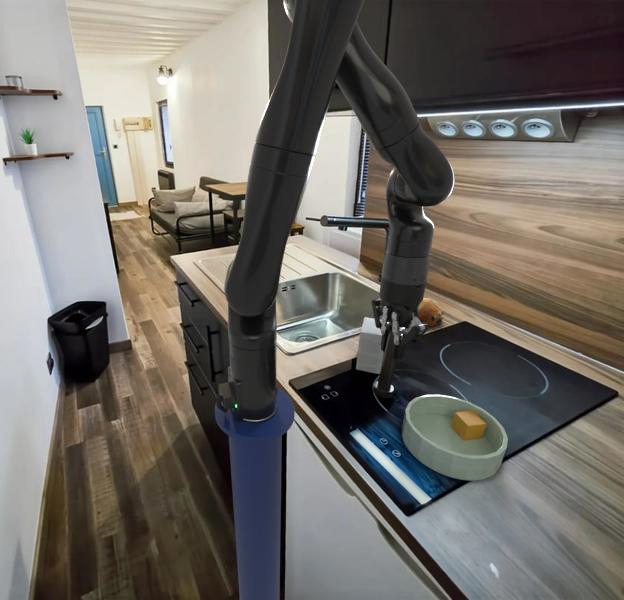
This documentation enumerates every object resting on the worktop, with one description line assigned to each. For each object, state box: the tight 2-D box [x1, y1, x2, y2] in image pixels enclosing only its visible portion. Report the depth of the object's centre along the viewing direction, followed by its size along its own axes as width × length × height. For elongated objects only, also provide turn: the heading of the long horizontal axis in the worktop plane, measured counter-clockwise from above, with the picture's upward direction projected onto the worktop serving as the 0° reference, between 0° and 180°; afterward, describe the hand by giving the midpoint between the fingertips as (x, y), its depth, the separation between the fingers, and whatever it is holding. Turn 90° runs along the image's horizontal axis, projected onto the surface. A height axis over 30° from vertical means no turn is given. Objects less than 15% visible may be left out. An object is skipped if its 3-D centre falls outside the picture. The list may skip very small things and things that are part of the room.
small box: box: [355, 316, 384, 375], centre depth 87 cm, size 8×6×10 cm
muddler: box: [372, 330, 403, 399], centre depth 75 cm, size 4×4×14 cm
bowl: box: [401, 394, 509, 482], centre depth 65 cm, size 15×15×5 cm
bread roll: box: [418, 297, 445, 327], centre depth 107 cm, size 10×10×8 cm
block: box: [451, 410, 486, 440], centre depth 66 cm, size 4×4×4 cm
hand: (391, 354), depth 74 cm, fingers closed on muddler, 2 cm apart
